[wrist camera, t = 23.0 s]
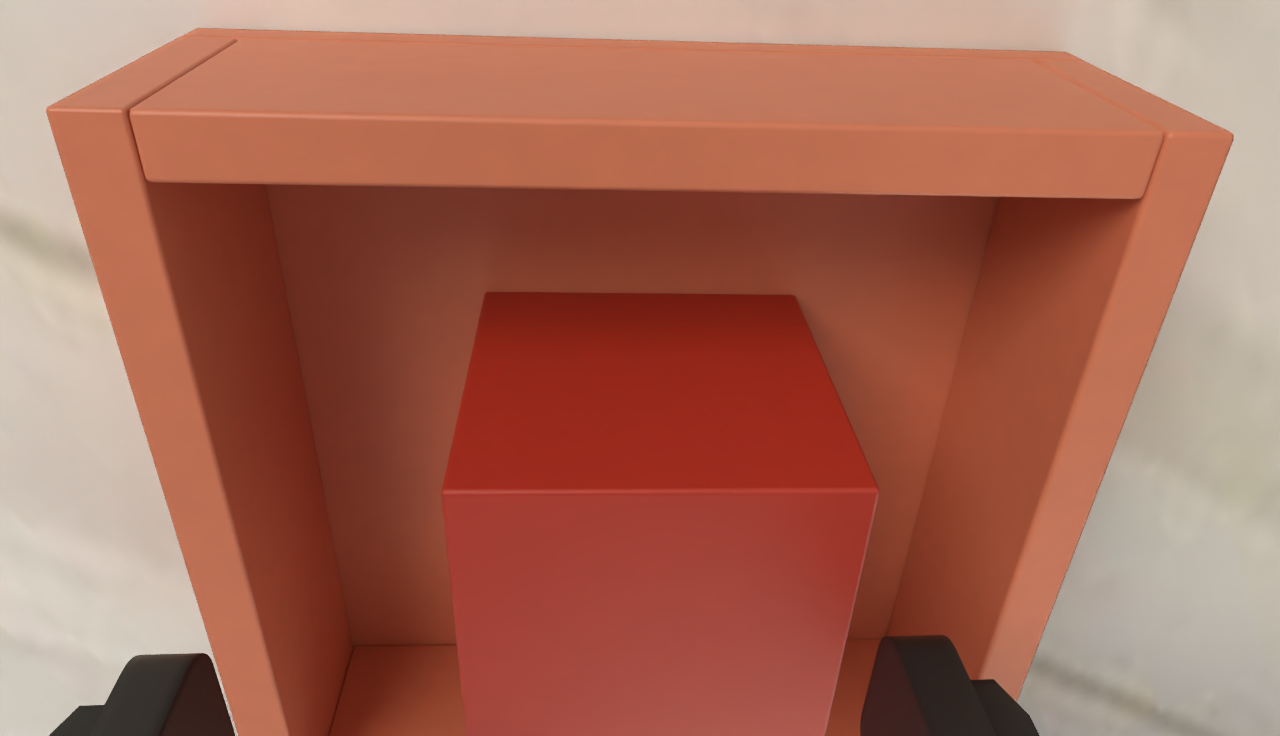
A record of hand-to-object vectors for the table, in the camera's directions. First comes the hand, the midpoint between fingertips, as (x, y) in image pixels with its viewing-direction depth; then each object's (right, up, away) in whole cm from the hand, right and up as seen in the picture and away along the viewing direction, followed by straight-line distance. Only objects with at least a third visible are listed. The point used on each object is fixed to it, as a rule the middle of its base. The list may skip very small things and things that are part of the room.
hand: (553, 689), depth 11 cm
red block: (+1, +3, +5) cm, 6 cm away
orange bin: (+1, +3, +5) cm, 6 cm away
